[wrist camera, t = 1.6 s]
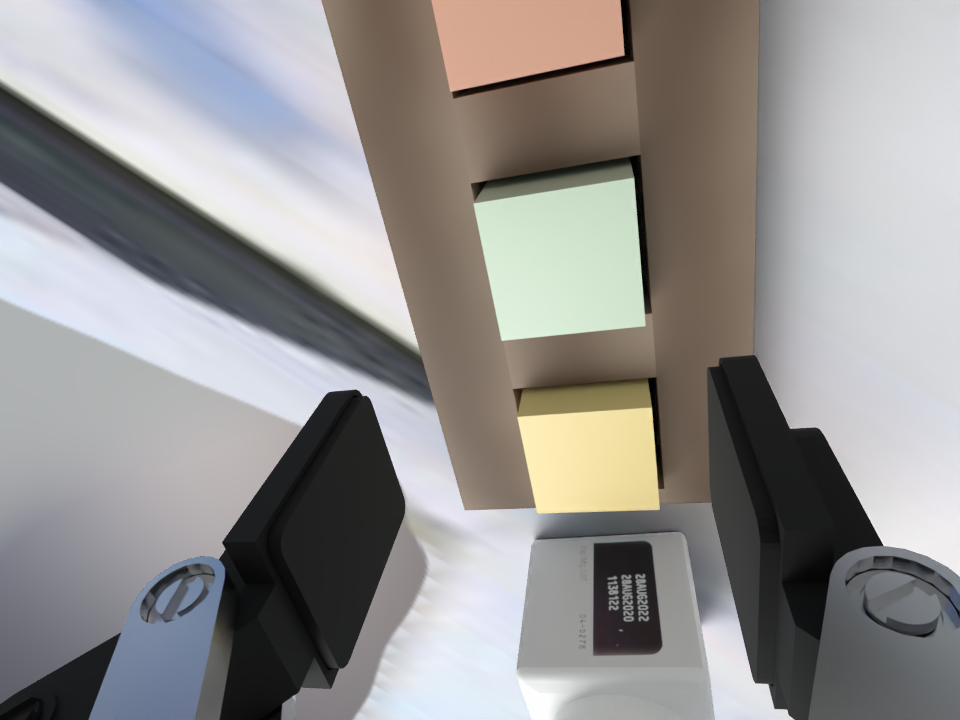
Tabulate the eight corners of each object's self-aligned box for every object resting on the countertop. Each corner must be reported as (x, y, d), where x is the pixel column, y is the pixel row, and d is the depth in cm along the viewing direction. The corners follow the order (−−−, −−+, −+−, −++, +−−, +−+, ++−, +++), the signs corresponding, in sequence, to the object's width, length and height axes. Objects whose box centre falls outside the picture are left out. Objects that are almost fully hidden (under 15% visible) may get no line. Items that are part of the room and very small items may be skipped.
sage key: (629, 155, 20) (634, 177, 17) (639, 289, 22) (645, 326, 19) (488, 180, 21) (473, 203, 18) (512, 304, 23) (501, 340, 21)
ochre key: (645, 364, 23) (652, 407, 21) (653, 460, 26) (659, 509, 23) (525, 374, 25) (517, 416, 22) (542, 465, 27) (537, 513, 24)
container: (530, 536, 31) (494, 823, 20) (684, 527, 29) (738, 841, 18) (558, 632, 35) (540, 922, 24) (697, 630, 33) (749, 946, 22)
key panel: (737, -229, 16) (764, -274, 13) (736, 453, 27) (750, 500, 24) (329, -103, 19) (287, -121, 16) (476, 467, 29) (464, 510, 27)
